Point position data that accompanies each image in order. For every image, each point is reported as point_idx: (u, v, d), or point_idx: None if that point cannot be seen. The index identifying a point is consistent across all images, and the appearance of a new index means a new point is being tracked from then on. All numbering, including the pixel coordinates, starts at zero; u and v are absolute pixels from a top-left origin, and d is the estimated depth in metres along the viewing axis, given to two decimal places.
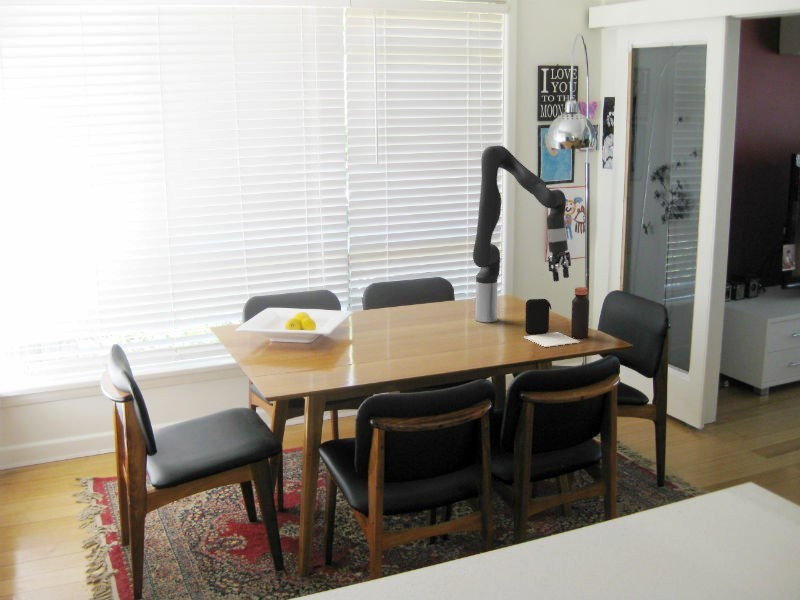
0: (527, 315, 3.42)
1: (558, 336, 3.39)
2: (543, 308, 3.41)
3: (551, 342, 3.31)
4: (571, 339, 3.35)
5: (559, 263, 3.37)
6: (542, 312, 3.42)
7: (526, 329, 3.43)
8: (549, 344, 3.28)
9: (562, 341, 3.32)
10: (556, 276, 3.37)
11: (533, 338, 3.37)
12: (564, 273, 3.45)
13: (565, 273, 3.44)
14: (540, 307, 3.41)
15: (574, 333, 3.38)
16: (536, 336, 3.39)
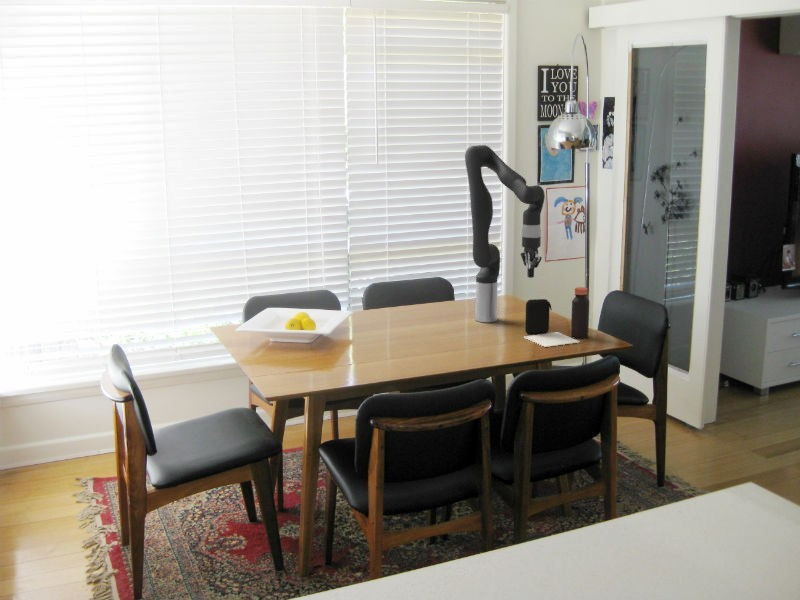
0: (527, 315, 3.42)
1: (558, 336, 3.39)
2: (543, 308, 3.41)
3: (551, 342, 3.31)
4: (571, 339, 3.35)
5: None
6: (542, 312, 3.41)
7: (526, 329, 3.43)
8: (549, 344, 3.28)
9: (562, 341, 3.32)
10: None
11: (533, 338, 3.37)
12: None
13: None
14: (540, 308, 3.41)
15: (574, 333, 3.38)
16: (536, 336, 3.39)
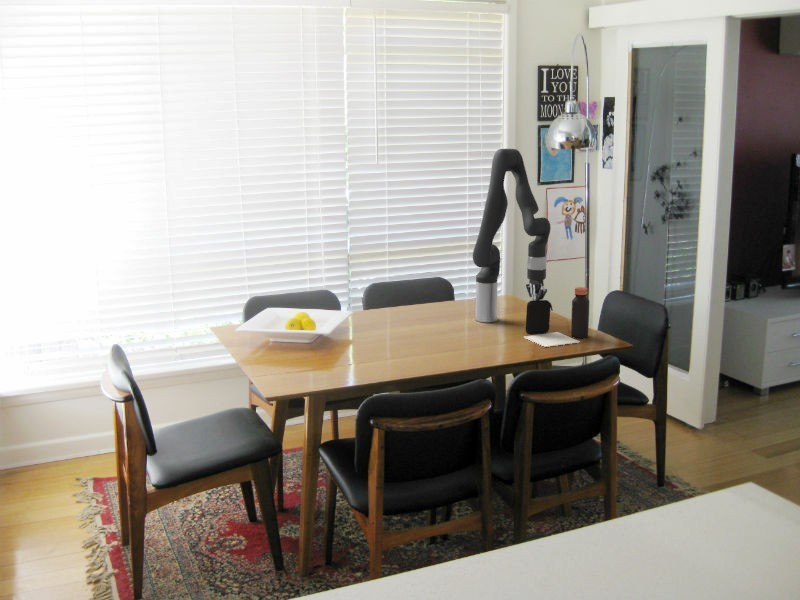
0: (528, 316, 3.41)
1: (558, 336, 3.39)
2: (544, 310, 3.40)
3: (551, 342, 3.31)
4: (571, 339, 3.35)
5: None
6: (543, 313, 3.40)
7: (526, 329, 3.43)
8: (549, 344, 3.28)
9: (562, 341, 3.32)
10: None
11: (533, 338, 3.37)
12: None
13: None
14: (541, 309, 3.39)
15: (574, 333, 3.38)
16: (536, 336, 3.39)
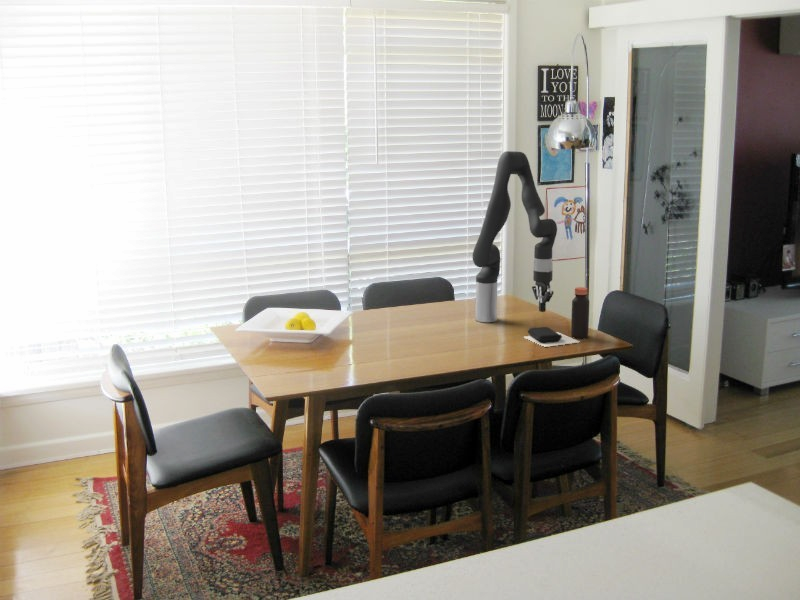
0: (534, 338, 3.35)
1: None
2: None
3: (551, 342, 3.31)
4: (571, 339, 3.35)
5: None
6: None
7: None
8: (549, 344, 3.28)
9: (562, 341, 3.32)
10: None
11: (533, 338, 3.37)
12: None
13: None
14: None
15: (574, 333, 3.38)
16: None
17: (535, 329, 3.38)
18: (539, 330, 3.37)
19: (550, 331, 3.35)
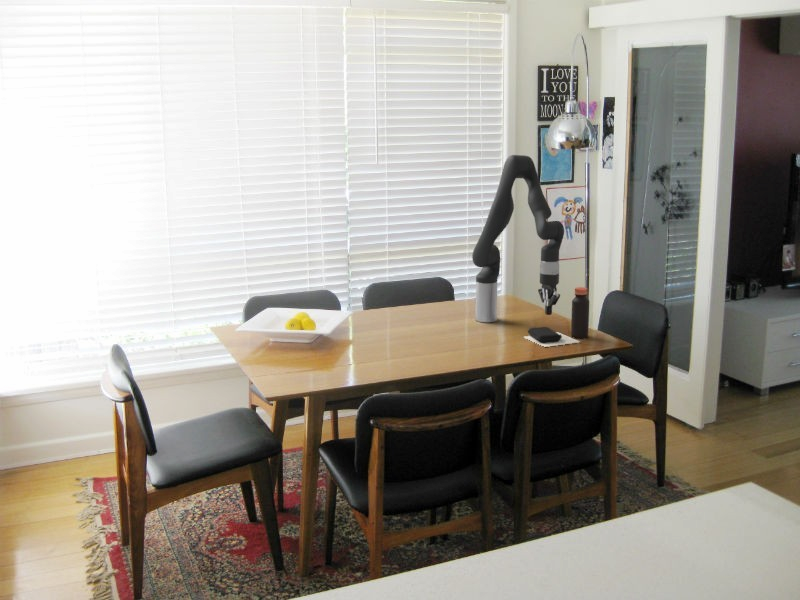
0: (534, 338, 3.35)
1: None
2: None
3: (551, 342, 3.31)
4: (571, 339, 3.35)
5: None
6: None
7: None
8: (549, 344, 3.28)
9: (562, 341, 3.32)
10: None
11: (533, 338, 3.37)
12: None
13: None
14: None
15: (574, 333, 3.38)
16: None
17: (535, 329, 3.38)
18: (539, 330, 3.37)
19: (550, 331, 3.35)
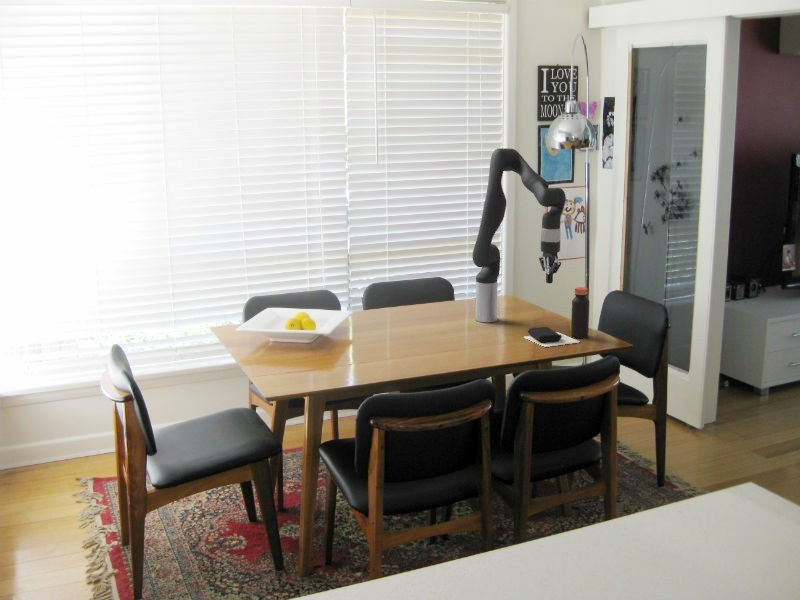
0: (534, 338, 3.35)
1: None
2: None
3: (551, 342, 3.31)
4: (571, 339, 3.35)
5: None
6: None
7: None
8: (549, 344, 3.28)
9: (562, 341, 3.32)
10: None
11: (533, 338, 3.37)
12: None
13: None
14: None
15: (574, 333, 3.38)
16: None
17: (535, 329, 3.38)
18: (539, 330, 3.37)
19: (550, 331, 3.35)
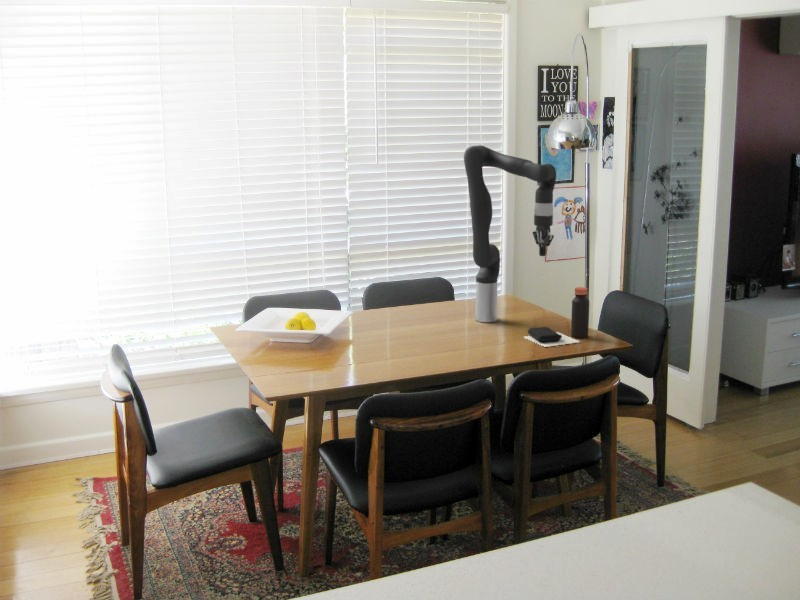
0: (534, 338, 3.35)
1: None
2: None
3: (551, 342, 3.31)
4: (571, 339, 3.35)
5: None
6: None
7: None
8: (549, 344, 3.28)
9: (562, 341, 3.32)
10: None
11: (533, 338, 3.37)
12: None
13: None
14: None
15: (574, 333, 3.38)
16: None
17: (535, 329, 3.38)
18: (539, 330, 3.37)
19: (550, 331, 3.35)
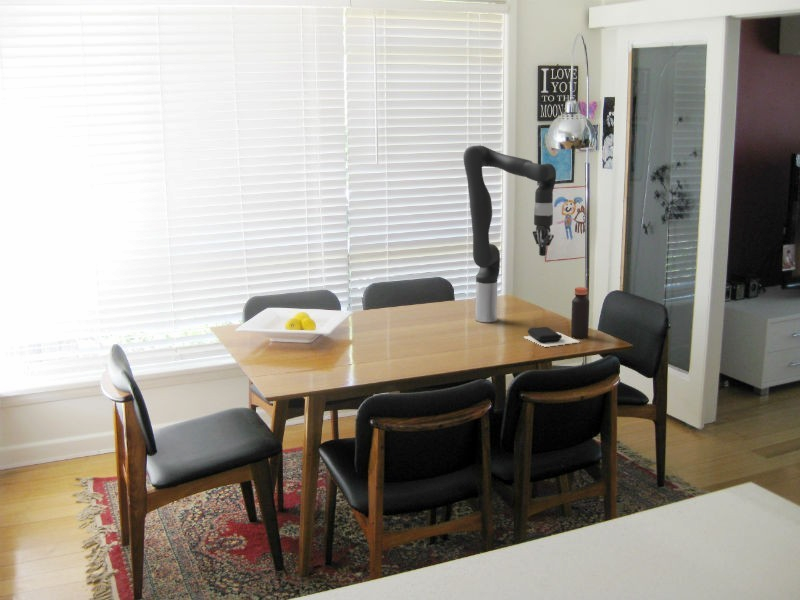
0: (534, 338, 3.35)
1: None
2: None
3: (551, 342, 3.31)
4: (571, 339, 3.35)
5: None
6: None
7: None
8: (549, 344, 3.28)
9: (562, 341, 3.32)
10: None
11: (533, 338, 3.37)
12: None
13: None
14: None
15: (574, 333, 3.38)
16: None
17: (535, 329, 3.38)
18: (539, 330, 3.37)
19: (550, 331, 3.35)
